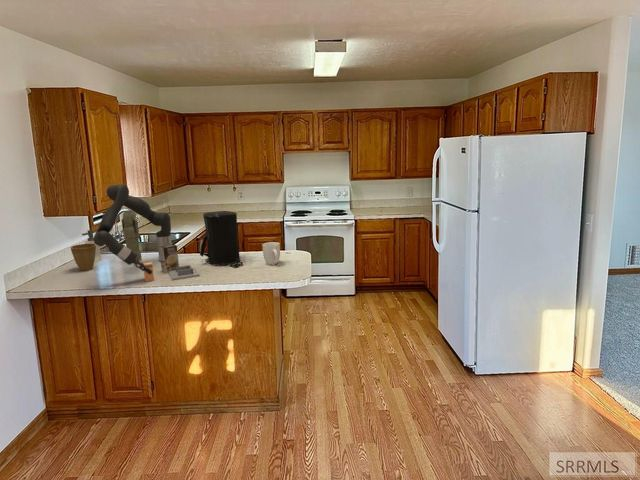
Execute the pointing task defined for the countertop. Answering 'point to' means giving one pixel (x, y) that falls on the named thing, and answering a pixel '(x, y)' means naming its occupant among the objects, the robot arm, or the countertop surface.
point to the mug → (271, 252)
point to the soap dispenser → (91, 241)
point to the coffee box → (169, 258)
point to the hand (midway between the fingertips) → (150, 271)
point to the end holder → (183, 272)
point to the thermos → (131, 232)
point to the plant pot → (84, 256)
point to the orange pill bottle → (148, 276)
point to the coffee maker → (221, 239)
